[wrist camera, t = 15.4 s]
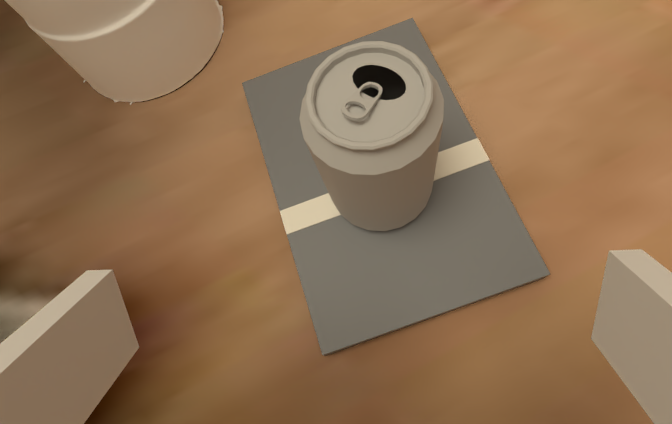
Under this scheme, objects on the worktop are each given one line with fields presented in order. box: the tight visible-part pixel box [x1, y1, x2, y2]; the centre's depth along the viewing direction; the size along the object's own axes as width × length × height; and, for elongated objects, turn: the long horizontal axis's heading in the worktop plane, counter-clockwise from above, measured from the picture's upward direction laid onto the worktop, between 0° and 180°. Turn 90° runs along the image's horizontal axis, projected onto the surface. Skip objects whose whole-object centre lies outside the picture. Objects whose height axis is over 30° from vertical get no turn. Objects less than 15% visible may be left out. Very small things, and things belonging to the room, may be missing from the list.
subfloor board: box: [242, 18, 550, 355], centre depth 32 cm, size 24×16×2 cm, turn 19°
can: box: [299, 41, 444, 231], centre depth 25 cm, size 8×8×12 cm
